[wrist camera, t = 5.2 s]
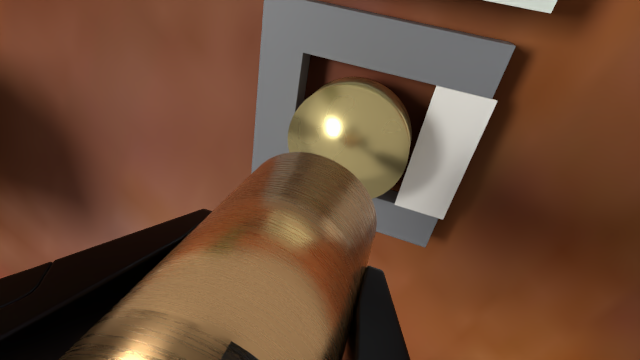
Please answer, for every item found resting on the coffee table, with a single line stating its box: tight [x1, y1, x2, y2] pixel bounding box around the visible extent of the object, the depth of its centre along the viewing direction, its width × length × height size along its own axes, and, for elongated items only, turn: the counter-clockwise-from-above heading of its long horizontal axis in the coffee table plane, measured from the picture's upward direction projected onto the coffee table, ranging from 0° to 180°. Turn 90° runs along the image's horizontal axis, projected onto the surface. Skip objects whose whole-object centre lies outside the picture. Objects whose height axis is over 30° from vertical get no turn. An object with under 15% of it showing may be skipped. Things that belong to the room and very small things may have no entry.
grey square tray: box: [252, 0, 516, 247], centre depth 16 cm, size 10×10×1 cm
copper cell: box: [59, 152, 377, 360], centre depth 7 cm, size 4×4×7 cm
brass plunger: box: [288, 77, 412, 199], centre depth 15 cm, size 5×5×2 cm
